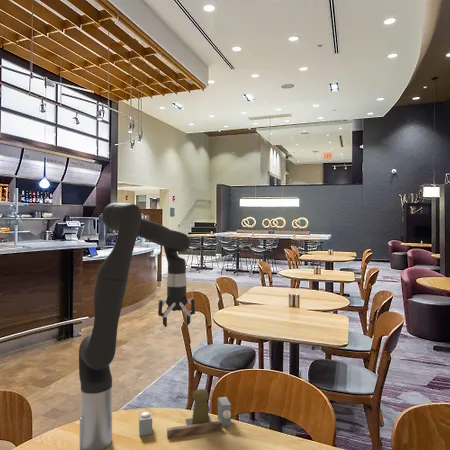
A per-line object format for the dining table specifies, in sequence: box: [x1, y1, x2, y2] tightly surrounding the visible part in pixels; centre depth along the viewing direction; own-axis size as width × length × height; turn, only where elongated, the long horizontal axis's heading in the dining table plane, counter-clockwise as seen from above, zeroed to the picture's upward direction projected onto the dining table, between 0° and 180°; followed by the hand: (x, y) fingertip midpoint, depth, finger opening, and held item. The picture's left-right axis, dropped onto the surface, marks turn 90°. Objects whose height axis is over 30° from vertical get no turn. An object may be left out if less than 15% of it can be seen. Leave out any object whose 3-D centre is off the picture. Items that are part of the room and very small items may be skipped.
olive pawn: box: [192, 388, 210, 425], centre depth 125 cm, size 6×6×11 cm
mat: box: [185, 415, 213, 425], centre depth 125 cm, size 8×8×1 cm
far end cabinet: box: [217, 396, 232, 427], centre depth 126 cm, size 3×7×7 cm, turn 15°
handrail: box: [166, 420, 224, 439], centre depth 120 cm, size 18×2×2 cm, turn 105°
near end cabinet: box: [138, 410, 153, 437], centre depth 121 cm, size 4×5×6 cm
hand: (176, 325), depth 145 cm, fingers open, 8 cm apart
